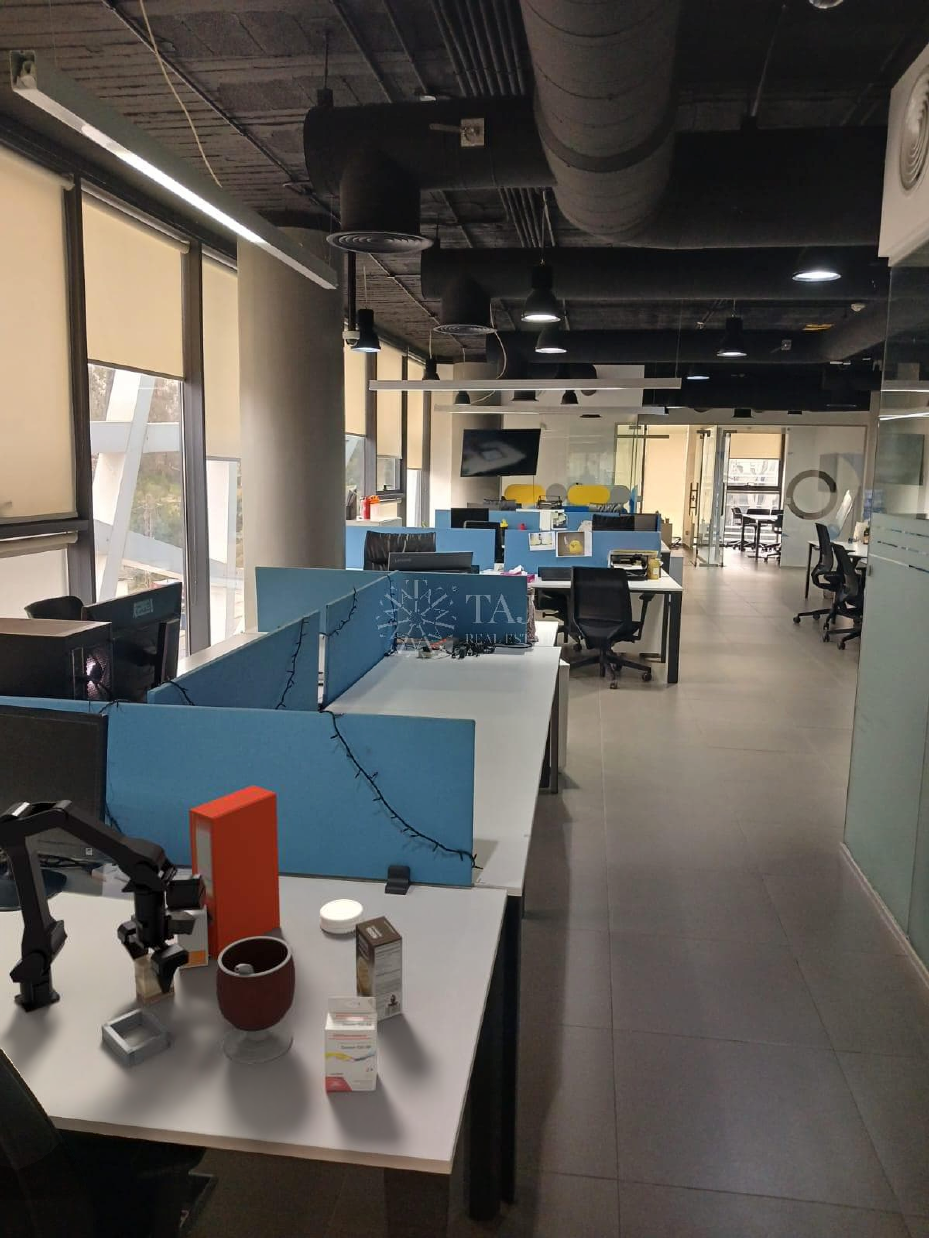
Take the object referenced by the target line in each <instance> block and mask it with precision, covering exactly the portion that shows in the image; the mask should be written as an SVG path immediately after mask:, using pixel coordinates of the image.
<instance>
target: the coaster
mask: <svg viewBox="0 0 929 1238" xmlns="http://www.w3.org/2000/svg"><path fill="white" fill-rule="evenodd" d="M364 915H365V914H364V907H363V906H362V904H361V903H360V902H358V901H356V900H353V899H336V900H332V901H330V902H328V903H326V904H325V905H323V906H322V907H321V908H320V910H319V925H320V927H321V929H322V930H323V931H325V932H328V933H329V934H339V935H341V934H342V935H343V934H348V932H349V933H352V932H354V930H355V931H356V926H355V925H356V924H358V923H362V922H365V919H364ZM351 931H352V932H351Z"/></svg>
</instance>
